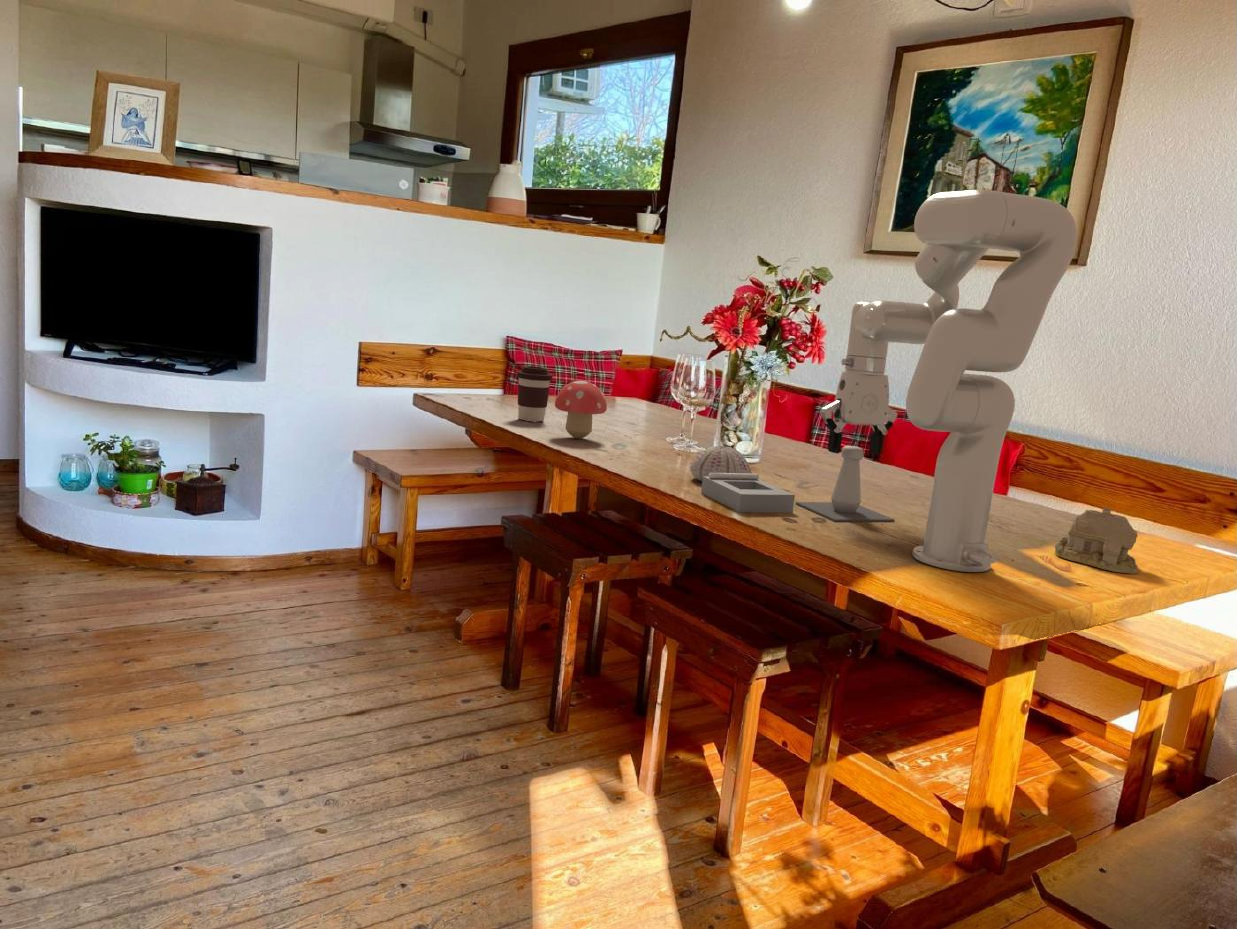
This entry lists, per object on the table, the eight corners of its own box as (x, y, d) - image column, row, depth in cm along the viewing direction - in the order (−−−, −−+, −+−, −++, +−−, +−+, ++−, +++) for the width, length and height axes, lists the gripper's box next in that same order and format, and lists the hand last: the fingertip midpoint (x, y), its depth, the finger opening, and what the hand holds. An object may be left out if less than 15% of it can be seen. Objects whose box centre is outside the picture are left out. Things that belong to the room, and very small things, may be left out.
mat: (894, 521, 197) (894, 519, 197) (834, 521, 191) (834, 519, 191) (852, 504, 209) (852, 502, 209) (795, 504, 204) (795, 502, 204)
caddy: (792, 512, 196) (795, 488, 195) (738, 512, 191) (741, 488, 190) (752, 493, 210) (754, 471, 209) (701, 492, 206) (703, 470, 205)
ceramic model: (1142, 566, 181) (1153, 512, 179) (1135, 578, 171) (1146, 521, 169) (1059, 549, 188) (1069, 497, 186) (1048, 559, 179) (1058, 504, 177)
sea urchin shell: (736, 477, 228) (740, 442, 226) (759, 490, 215) (763, 454, 213) (680, 474, 224) (684, 439, 223) (700, 488, 211) (705, 450, 210)
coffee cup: (555, 422, 284) (560, 369, 282) (534, 424, 276) (539, 370, 273) (527, 416, 289) (531, 364, 287) (506, 418, 281) (510, 365, 278)
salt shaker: (859, 515, 197) (868, 450, 195) (829, 511, 198) (838, 446, 196) (858, 509, 202) (867, 446, 200) (829, 505, 204) (838, 442, 201)
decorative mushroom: (541, 434, 259) (546, 377, 257) (580, 433, 268) (586, 377, 266) (574, 444, 250) (579, 384, 247) (614, 442, 259) (620, 384, 256)
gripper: (839, 364, 188) (828, 455, 191) (913, 370, 195) (902, 457, 197) (816, 361, 195) (806, 448, 198) (889, 367, 202) (879, 451, 204)
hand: (854, 453), depth 198 cm, fingers open, 9 cm apart
